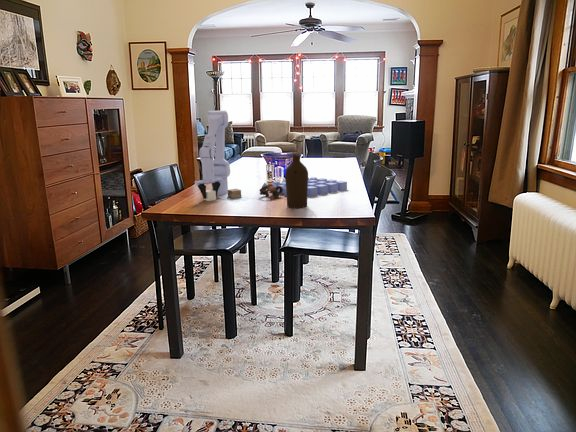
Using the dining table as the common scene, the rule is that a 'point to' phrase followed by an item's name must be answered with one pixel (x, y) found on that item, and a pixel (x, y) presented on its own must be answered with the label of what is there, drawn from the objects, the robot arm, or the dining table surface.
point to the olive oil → (296, 183)
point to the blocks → (316, 186)
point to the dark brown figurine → (273, 190)
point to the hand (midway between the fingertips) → (209, 197)
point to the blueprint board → (235, 198)
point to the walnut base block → (234, 193)
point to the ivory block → (210, 195)
